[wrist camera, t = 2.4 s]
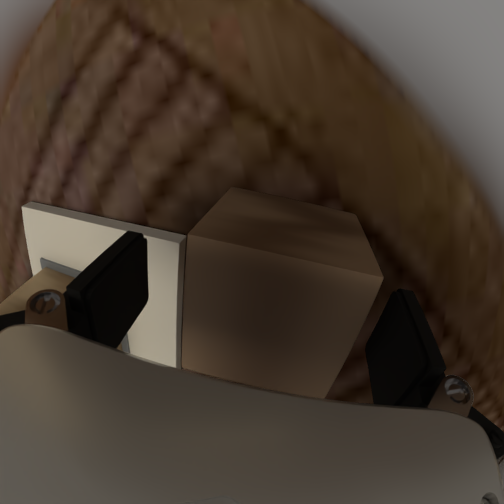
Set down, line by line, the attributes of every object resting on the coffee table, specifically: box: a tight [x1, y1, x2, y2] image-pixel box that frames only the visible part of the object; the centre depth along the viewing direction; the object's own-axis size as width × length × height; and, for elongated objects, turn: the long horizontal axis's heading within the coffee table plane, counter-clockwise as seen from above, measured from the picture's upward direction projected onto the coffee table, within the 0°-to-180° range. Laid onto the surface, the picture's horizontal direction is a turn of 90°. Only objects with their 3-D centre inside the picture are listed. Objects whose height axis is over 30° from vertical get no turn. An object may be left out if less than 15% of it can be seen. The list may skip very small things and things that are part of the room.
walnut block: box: [182, 187, 384, 399], centre depth 13 cm, size 6×6×6 cm
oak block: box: [0, 267, 123, 351], centre depth 16 cm, size 6×6×6 cm
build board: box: [22, 202, 186, 369], centre depth 19 cm, size 12×14×1 cm
